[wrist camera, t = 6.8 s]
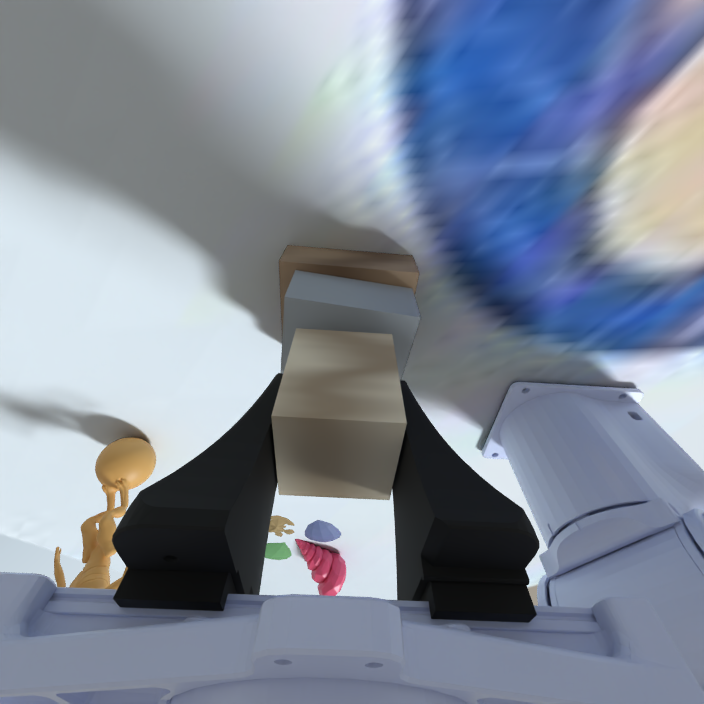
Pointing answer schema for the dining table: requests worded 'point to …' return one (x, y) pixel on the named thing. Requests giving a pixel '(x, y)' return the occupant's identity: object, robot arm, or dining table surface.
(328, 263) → the walnut block
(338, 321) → the slate grey block
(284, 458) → the birch block
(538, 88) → the dining table surface
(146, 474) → the figurine
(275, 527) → the toy pieces
